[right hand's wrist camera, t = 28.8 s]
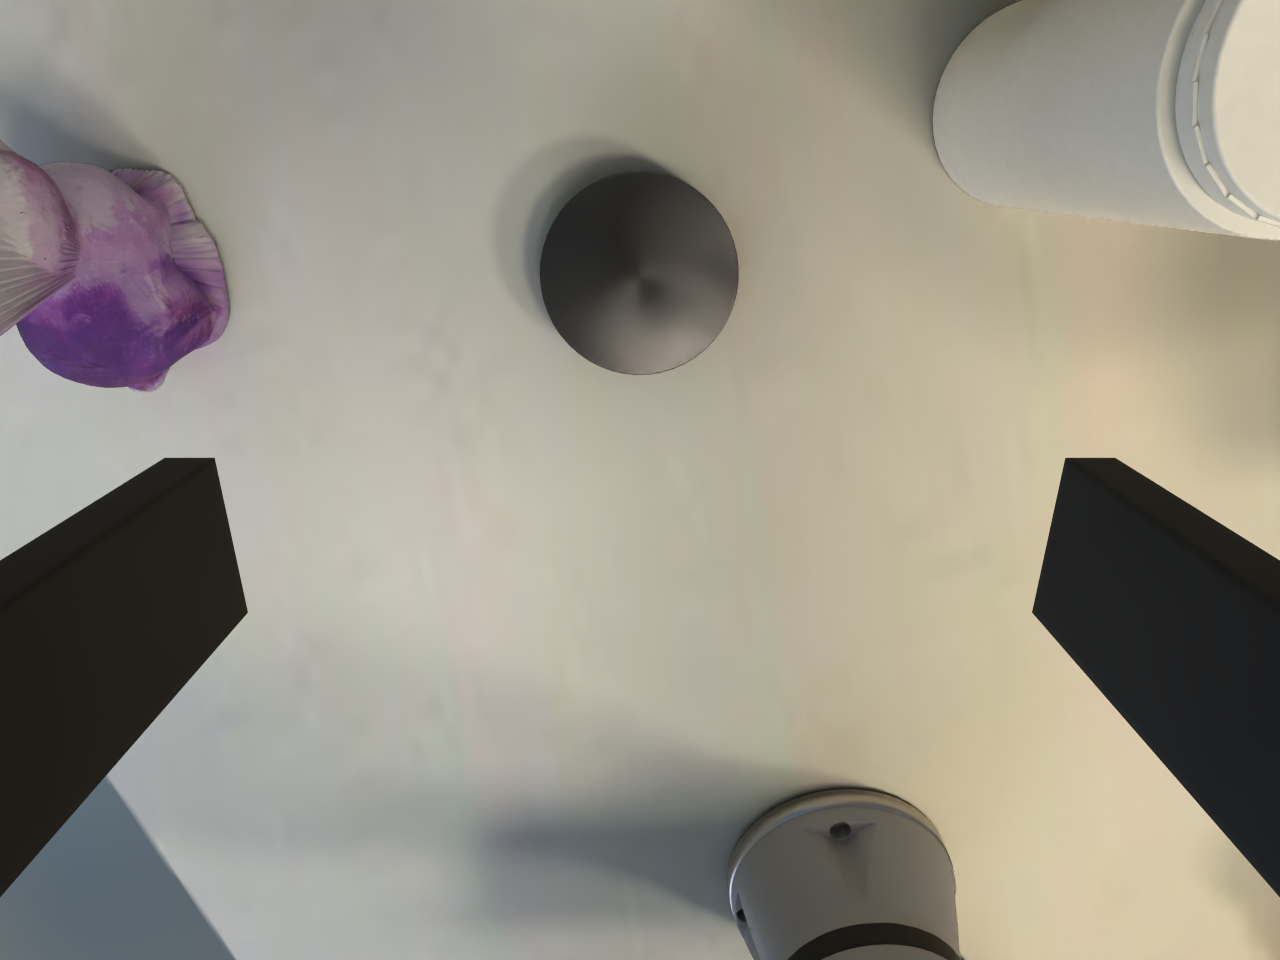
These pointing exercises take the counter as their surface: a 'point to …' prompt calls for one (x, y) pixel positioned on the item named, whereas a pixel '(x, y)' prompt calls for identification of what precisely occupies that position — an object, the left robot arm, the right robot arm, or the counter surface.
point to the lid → (639, 273)
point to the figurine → (105, 271)
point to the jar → (1120, 112)
